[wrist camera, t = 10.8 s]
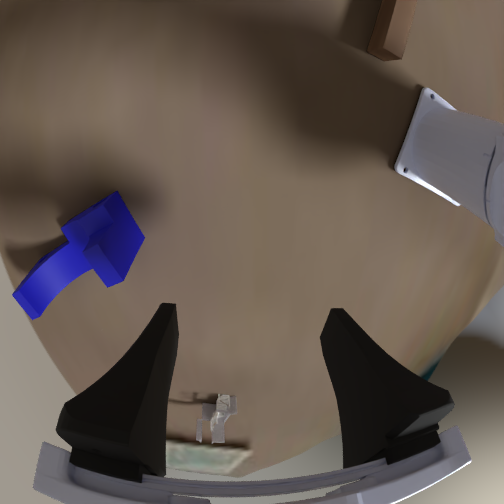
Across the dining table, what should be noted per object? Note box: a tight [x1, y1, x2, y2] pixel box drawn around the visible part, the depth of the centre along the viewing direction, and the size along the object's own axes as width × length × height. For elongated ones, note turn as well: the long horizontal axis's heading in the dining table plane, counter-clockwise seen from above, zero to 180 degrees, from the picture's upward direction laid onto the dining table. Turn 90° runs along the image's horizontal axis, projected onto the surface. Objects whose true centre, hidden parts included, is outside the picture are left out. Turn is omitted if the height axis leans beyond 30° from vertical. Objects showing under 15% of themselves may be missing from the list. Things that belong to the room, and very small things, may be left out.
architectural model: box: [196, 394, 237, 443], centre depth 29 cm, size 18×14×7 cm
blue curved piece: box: [12, 191, 145, 320], centre depth 19 cm, size 12×4×6 cm, turn 111°
